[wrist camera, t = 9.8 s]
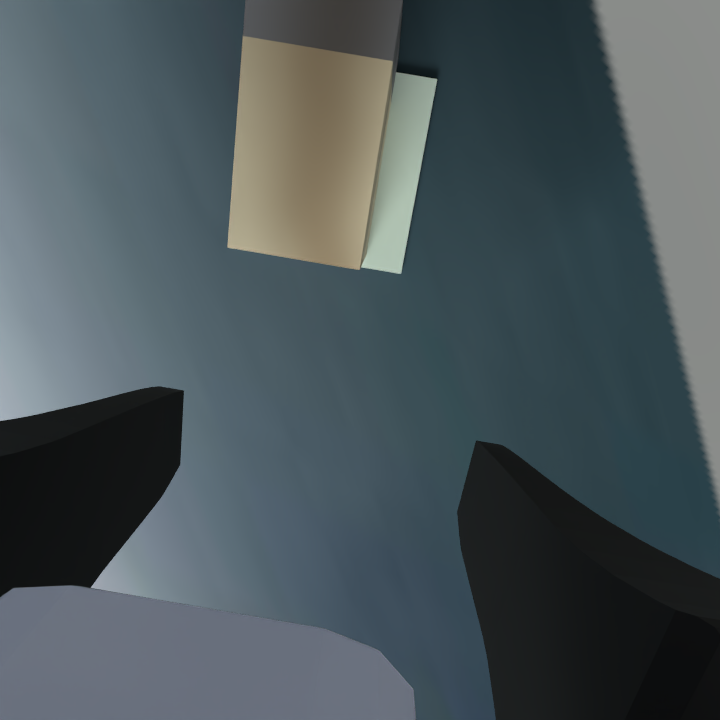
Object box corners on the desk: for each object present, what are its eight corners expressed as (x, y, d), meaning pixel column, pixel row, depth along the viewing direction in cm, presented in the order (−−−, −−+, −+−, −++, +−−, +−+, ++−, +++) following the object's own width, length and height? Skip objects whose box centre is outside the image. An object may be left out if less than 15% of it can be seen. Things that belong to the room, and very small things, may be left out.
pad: (232, 244, 19) (229, 244, 19) (247, 50, 17) (244, 46, 17) (400, 272, 19) (400, 273, 19) (436, 82, 17) (437, 79, 17)
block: (267, 238, 19) (227, 247, 14) (287, 38, 17) (247, -32, 12) (366, 255, 19) (359, 269, 14) (398, 57, 17) (403, -6, 12)
